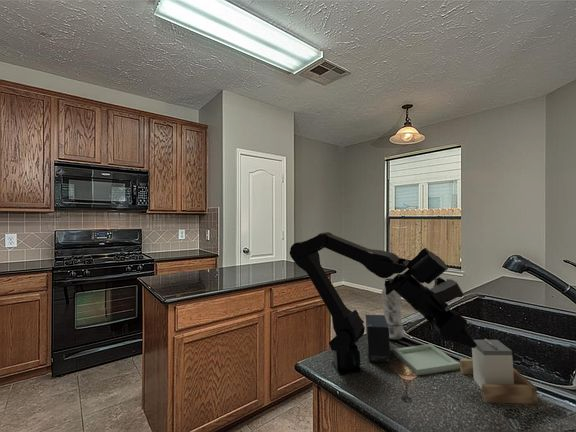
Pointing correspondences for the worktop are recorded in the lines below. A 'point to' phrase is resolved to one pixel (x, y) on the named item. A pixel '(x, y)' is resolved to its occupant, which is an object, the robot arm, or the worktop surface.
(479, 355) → the grey drawer with handle
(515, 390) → the bay
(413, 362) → the tray
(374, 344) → the small box
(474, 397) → the worktop surface
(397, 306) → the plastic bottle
